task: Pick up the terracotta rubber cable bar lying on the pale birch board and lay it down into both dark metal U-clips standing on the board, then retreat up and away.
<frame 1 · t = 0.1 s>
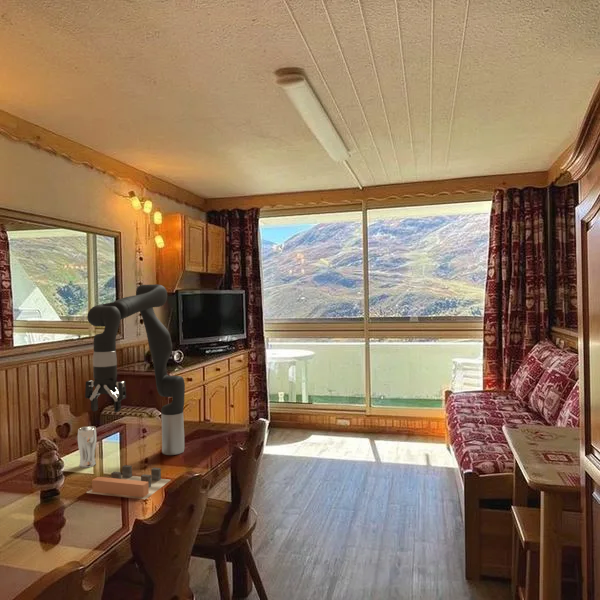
hand: (106, 411, 162), 29 cm above the table, fingers open, 8 cm apart
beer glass: (87, 465, 191), on the table
route board: (129, 489, 167), on the table
cable bar: (120, 492, 161), point 1 cm above the table, touching route board
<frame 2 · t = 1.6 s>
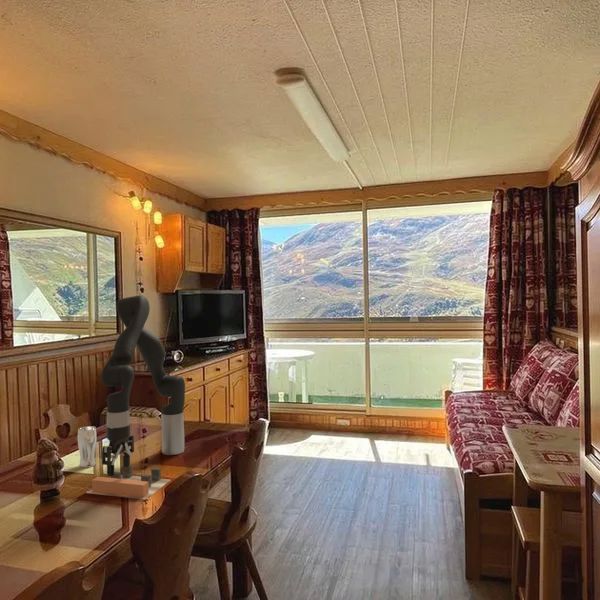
hand: (118, 471, 161), 9 cm above the table, fingers open, 8 cm apart
nothing on the table moved.
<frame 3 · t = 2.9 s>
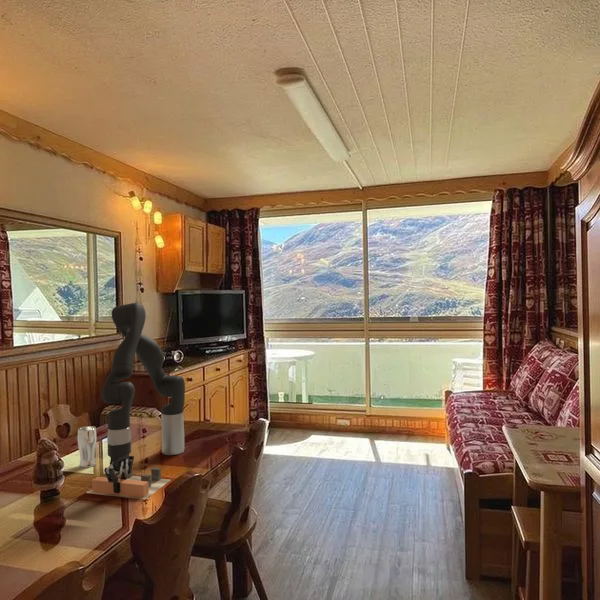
hand: (120, 490, 161), 2 cm above the table, fingers closed on cable bar, 3 cm apart
cable bar: (120, 492, 161), point 1 cm above the table, touching gripper
everything else where it was.
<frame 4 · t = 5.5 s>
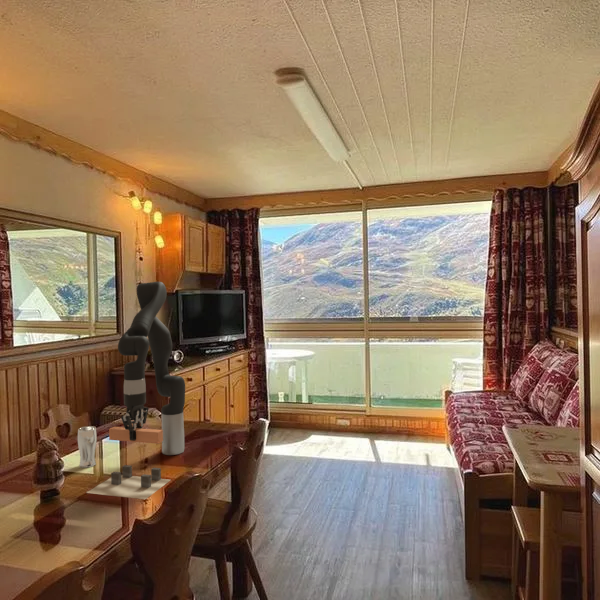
hand: (135, 438, 170), 17 cm above the table, fingers closed on cable bar, 3 cm apart
cable bar: (135, 440, 170), point 16 cm above the table, touching gripper
everything else where it was.
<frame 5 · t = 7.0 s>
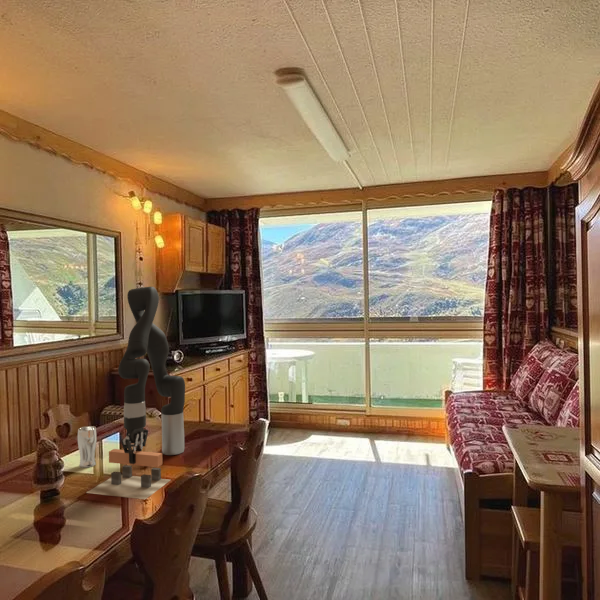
hand: (135, 461, 170), 9 cm above the table, fingers closed on cable bar, 3 cm apart
cable bar: (135, 463, 170), point 8 cm above the table, touching gripper
everything else where it was.
when the fingers open (3 cm above the table, at t = 8.3 s): cable bar drops 1 cm, resting on route board.
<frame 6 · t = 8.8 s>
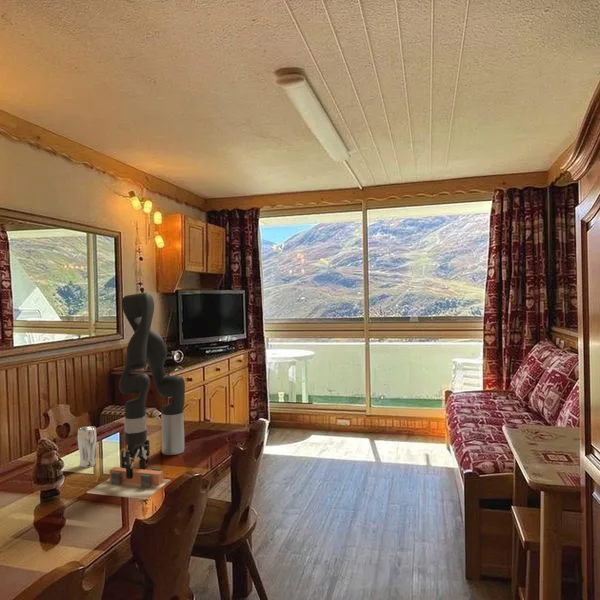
hand: (136, 474, 170), 4 cm above the table, fingers open, 7 cm apart
cable bar: (136, 481, 171), point 1 cm above the table, touching route board
everything else where it was.
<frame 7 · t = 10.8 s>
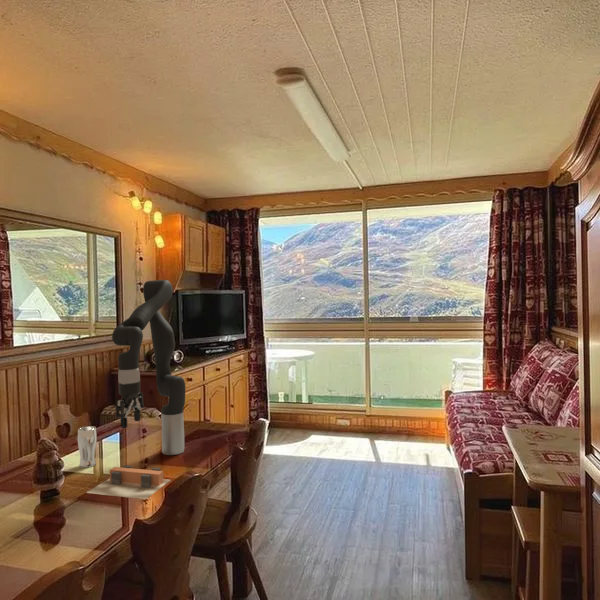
hand: (130, 424, 174), 21 cm above the table, fingers open, 8 cm apart
nothing on the table moved.
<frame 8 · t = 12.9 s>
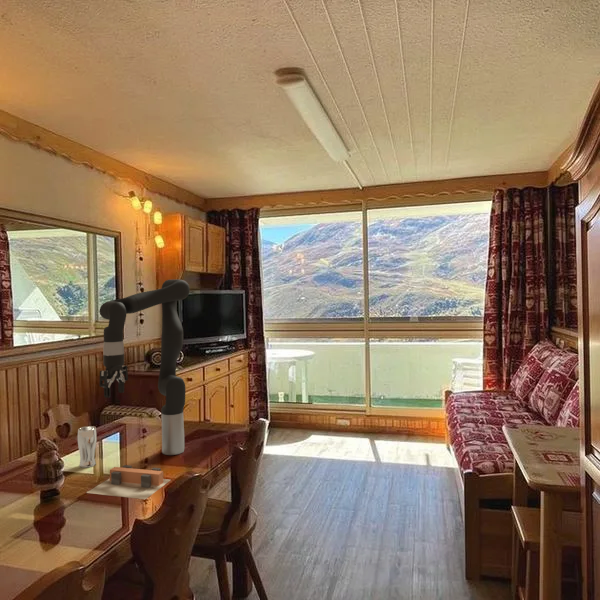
hand: (114, 394, 182), 30 cm above the table, fingers open, 8 cm apart
nothing on the table moved.
at the end: cable bar 0.0 cm from the target spot, point 1.2 cm above the table; cable bar tilted 0°; the gripper is holding nothing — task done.
